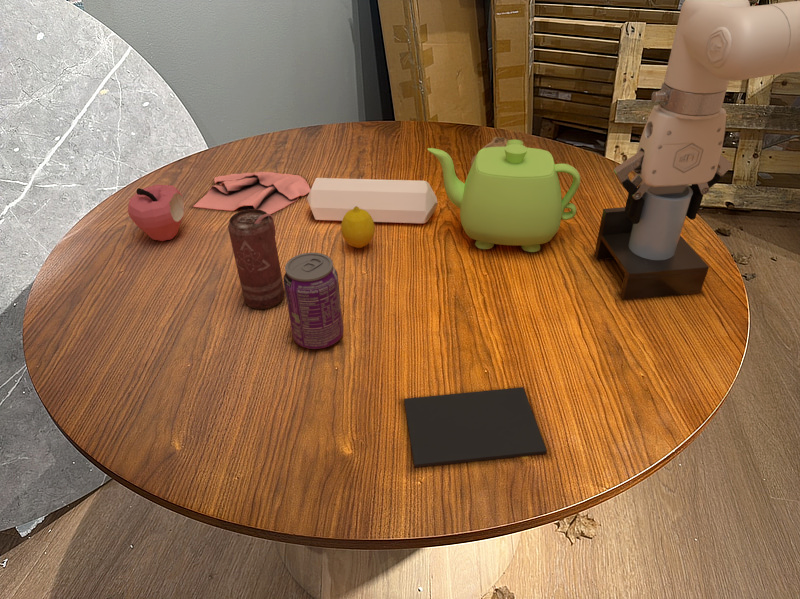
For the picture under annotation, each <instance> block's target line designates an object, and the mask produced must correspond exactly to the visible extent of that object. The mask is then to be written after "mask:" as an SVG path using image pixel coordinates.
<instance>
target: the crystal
mask: <svg viewBox="0 0 800 599" xmlns="http://www.w3.org/2000/svg"><path fill="white" fill-rule="evenodd" d="M310 189H311V190H310V192H309V194H307V197H306V201H307V203H308V205H309V208H310V210H311V212H312V215H313V217H314V220H316V221H339V222H342V221H343V218H344V216H345V214H346V213H347V212H348V211H350V210H352V209H354V207H356V206H357V207H359V209H363V210H365V211H367V212H368V213H369V214H370V216H371V217H372V219H373V222H374V223H399V224H402V223H403V224H426V223H427V222H428V221H429V220H430V219H431V217H432V216H433V214H434V212H435V211H436V210H437V207H438V204H439V203H438V198H437V195H436V194H435V192H434V190H433V188H432V186H431V184H430V183H429V182H428V181H427V180H413V179H410V180H408V179H374V178H373V179H371V178H340V177H339V178H337V177H335V178H334V177H315V180H314V182H313V184H312V186H311V187H310Z"/></svg>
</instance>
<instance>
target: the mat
mask: <svg viewBox="0 0 800 599" xmlns="http://www.w3.org/2000/svg"><path fill="white" fill-rule="evenodd" d="M403 403H404V410H405V417H406V422H407V423H406V424H407V428H408V434H409V442H410V448H411V449H410V450H411V454H412V460H413V467H414V468H416V469H417V468H425V467H434V466H444V465H452V464H463V463H472V462H482V461H492V460H501V459H510V458H520V457H530V456H540V455H547V451H548V450H547V447H546V444H545V442H544V439H543V437H542V433H541V431H540V428H539V425H538V423H537V420H536V418H535V415H534V412H533V410H532V407H531V405H530V402H529V399H528V397H527V394H526V391H525V389H524V387H523V386H522V387H521V386H520V387H511V388H501V389H491V390H489V389H488V390H481V391H480V390H479V391H472V392H471V391H469V392H460V393H459V392H458V393H448V394H440V395H439V394H438V395H429V396H418V397H410V398H404V399H403Z"/></svg>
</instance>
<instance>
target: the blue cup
mask: <svg viewBox="0 0 800 599" xmlns="http://www.w3.org/2000/svg"><path fill="white" fill-rule="evenodd" d="M692 195H693V191H692V189H691V188H690V187H689V185H679V186H665V187H650V188H649V189H648V190H647V191H646V192H645V193H644V195H643V196H642V198H643V199H644V205H643V209H642V213H641V217H640V221H639V223H638V224H633V226H632V230H631V235H630V239H629V243H628V246H629V249H630V250H631V251H632V252H633V253H634V254H636V255H637V256H640V257H642V258H645V259H649V260H666V259H669V258H671V257H673V256H674V255H675V252H676V249H677V245H678V242H679V239H680V235H681V236H682V233H683V232H682V231H683V228H684V226H685V221H686V218H687V216H686V215H687V211H688V208H689V205H690V201H691V198H692Z"/></svg>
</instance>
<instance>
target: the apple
mask: <svg viewBox="0 0 800 599" xmlns="http://www.w3.org/2000/svg"><path fill="white" fill-rule="evenodd" d="M127 205H128V206H127V213H128V216H129V218H130V220H132V222H133V223H134V224H135V225H136V226H137V227H138V228H139V229H140V230H141V231H142V232H143V233H145V234H146V235H147V236H148V237H149V238H150V239H151V240H152V241H160V242H164V241H167V240H173V239H174V238H175V237H176V235H178V232H179V229H180V225H181V223H182V221H183V218H184V215H185V201H184V197H183V194H182V193H181V192H180V190H178V189H177V188H176V187H175V186H174V185H173V184H158V183H157V184H154V185H150V186H147V187H144V188H139V187H138V188H137V189H136V193H135V194H134V195H133V196H132V197H131V198H129V201H128V204H127Z"/></svg>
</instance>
